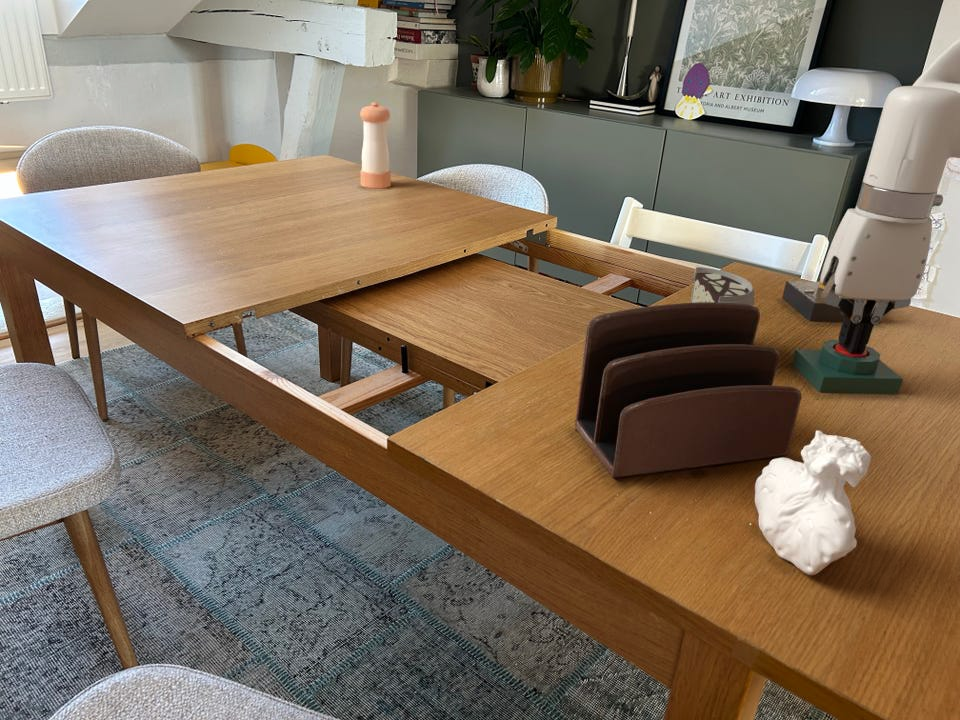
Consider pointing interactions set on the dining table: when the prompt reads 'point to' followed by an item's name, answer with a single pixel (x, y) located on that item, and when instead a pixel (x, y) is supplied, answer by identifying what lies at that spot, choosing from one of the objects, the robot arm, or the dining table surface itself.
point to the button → (844, 352)
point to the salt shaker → (375, 147)
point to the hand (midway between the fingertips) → (850, 348)
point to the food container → (721, 287)
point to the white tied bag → (811, 502)
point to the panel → (810, 302)
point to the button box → (846, 371)
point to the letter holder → (681, 389)
